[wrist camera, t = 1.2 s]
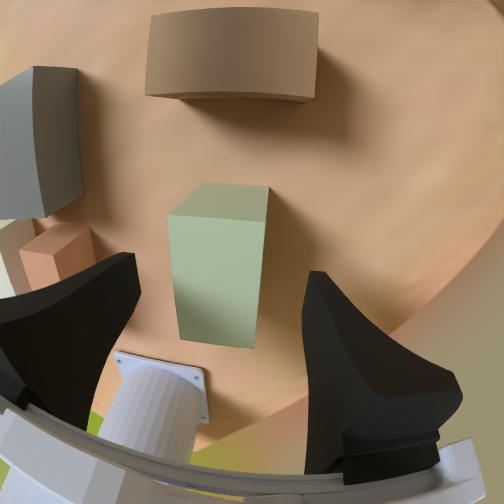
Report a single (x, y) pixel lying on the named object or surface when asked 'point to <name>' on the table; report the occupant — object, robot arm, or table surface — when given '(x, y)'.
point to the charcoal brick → (39, 143)
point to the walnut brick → (233, 54)
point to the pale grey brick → (14, 256)
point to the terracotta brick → (57, 255)
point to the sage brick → (218, 262)
